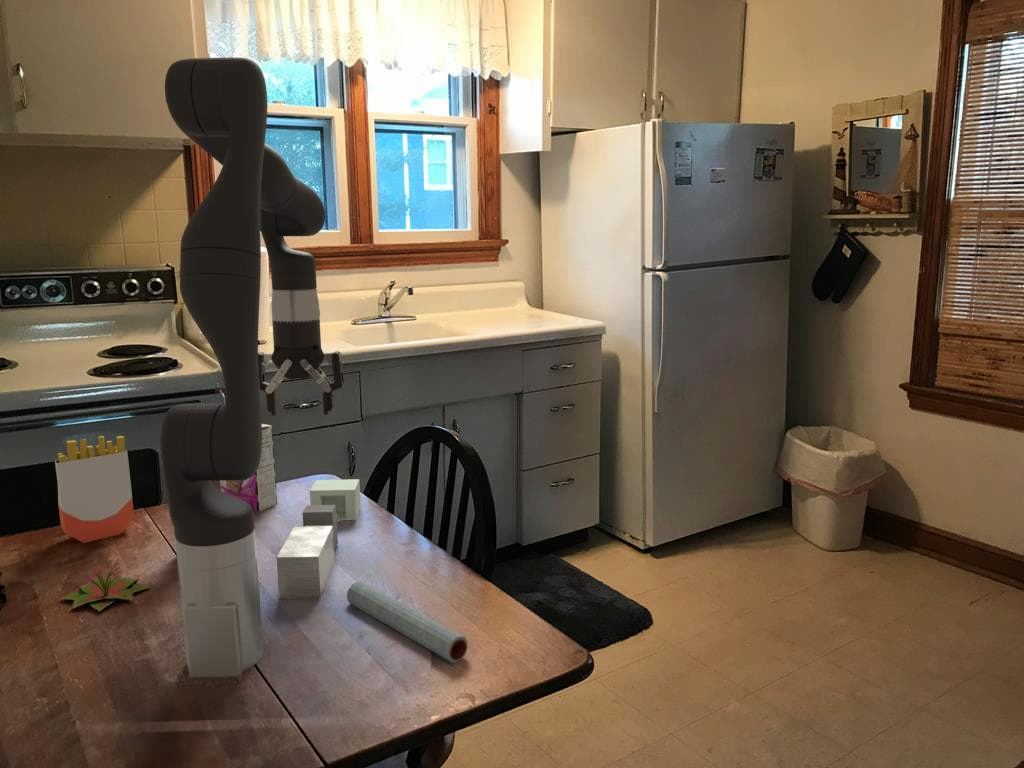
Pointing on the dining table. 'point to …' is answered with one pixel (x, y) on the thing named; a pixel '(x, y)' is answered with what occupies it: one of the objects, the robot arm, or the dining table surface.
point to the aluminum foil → (409, 622)
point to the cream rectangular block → (305, 562)
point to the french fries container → (94, 490)
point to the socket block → (338, 496)
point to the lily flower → (105, 590)
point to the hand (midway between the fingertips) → (301, 414)
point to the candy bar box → (257, 478)
